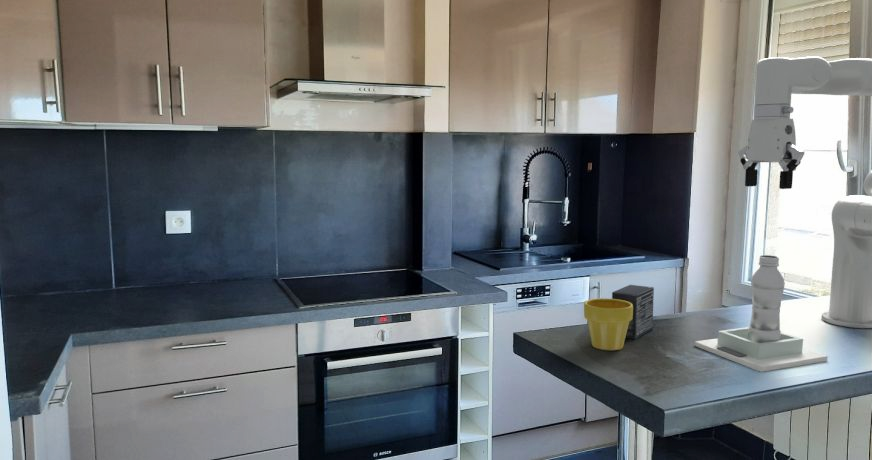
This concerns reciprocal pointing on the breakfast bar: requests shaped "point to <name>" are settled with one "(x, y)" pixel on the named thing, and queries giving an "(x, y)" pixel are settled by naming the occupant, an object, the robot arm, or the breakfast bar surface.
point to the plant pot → (608, 322)
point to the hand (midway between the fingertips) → (767, 187)
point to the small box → (638, 308)
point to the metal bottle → (766, 301)
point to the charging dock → (760, 350)
